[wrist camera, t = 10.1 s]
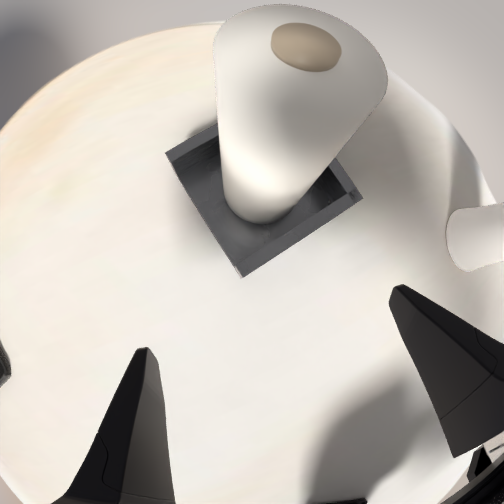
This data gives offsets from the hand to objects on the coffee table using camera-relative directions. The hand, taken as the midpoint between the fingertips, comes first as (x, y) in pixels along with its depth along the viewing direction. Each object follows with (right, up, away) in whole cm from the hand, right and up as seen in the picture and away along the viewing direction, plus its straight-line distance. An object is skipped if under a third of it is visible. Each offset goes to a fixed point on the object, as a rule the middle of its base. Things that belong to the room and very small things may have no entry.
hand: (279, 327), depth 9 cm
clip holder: (0, +7, +11) cm, 13 cm away
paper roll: (0, +7, +10) cm, 12 cm away
